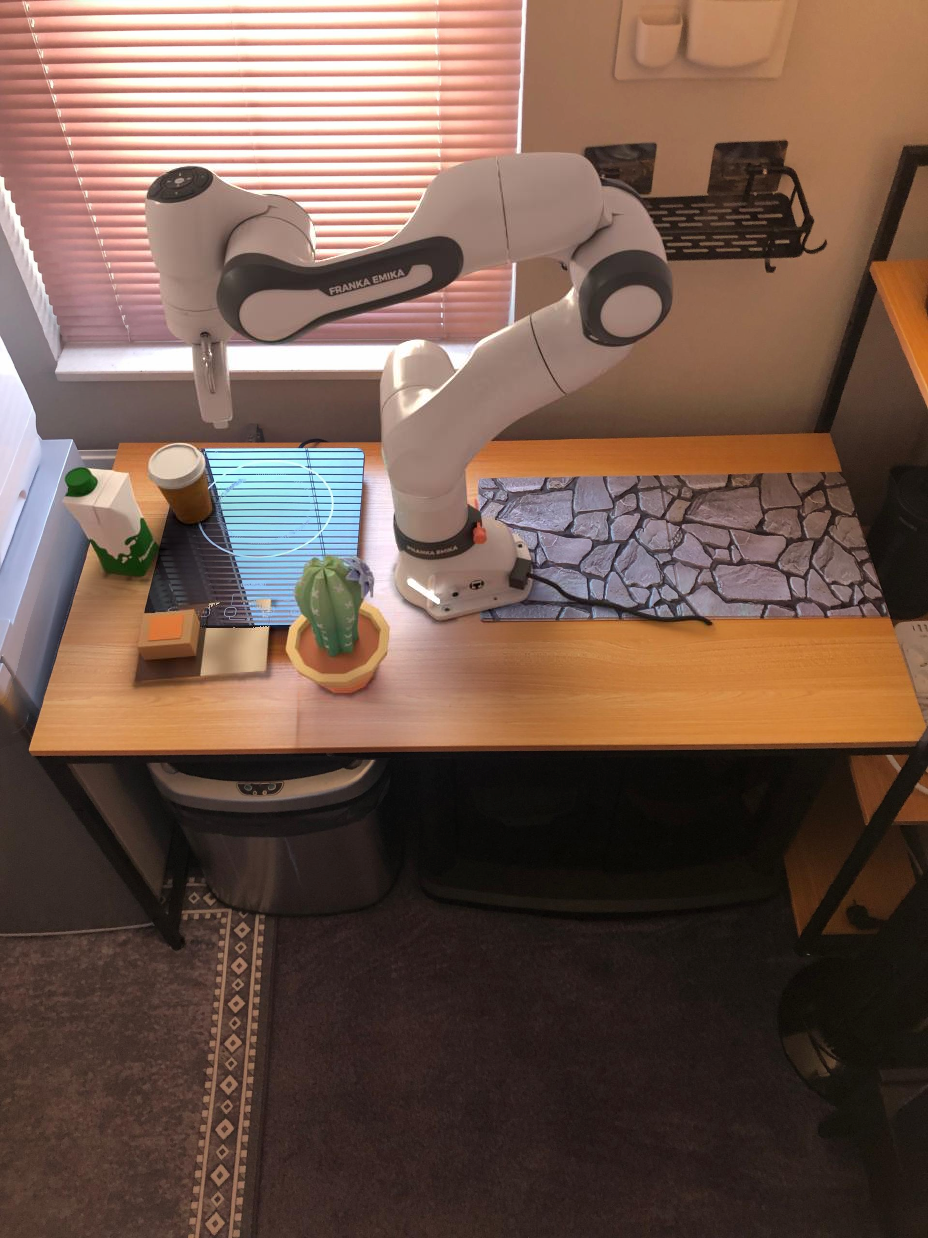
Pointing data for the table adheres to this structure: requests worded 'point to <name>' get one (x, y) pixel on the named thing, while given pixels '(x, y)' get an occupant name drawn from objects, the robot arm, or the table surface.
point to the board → (214, 651)
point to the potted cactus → (337, 625)
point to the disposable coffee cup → (182, 481)
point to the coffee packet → (169, 634)
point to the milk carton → (111, 519)
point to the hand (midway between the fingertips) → (219, 399)
